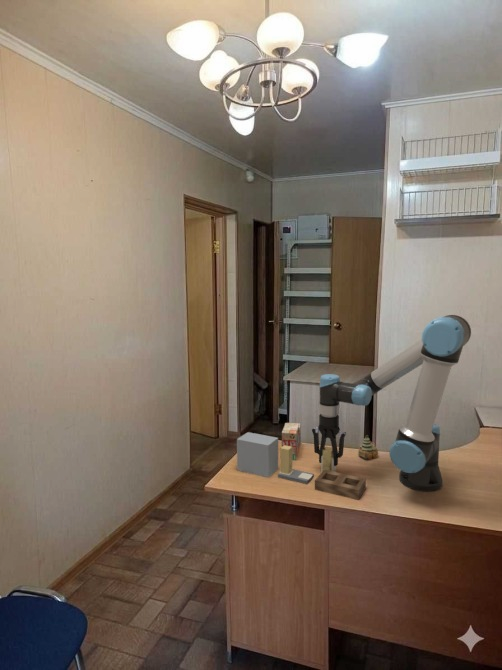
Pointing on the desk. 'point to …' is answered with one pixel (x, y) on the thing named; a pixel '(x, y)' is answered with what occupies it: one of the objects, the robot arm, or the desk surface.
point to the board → (295, 475)
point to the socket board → (340, 484)
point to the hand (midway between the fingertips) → (328, 471)
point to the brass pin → (327, 458)
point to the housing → (257, 454)
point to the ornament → (367, 449)
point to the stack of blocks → (292, 437)
